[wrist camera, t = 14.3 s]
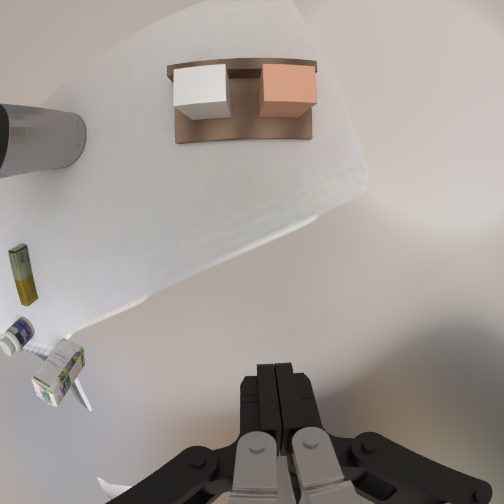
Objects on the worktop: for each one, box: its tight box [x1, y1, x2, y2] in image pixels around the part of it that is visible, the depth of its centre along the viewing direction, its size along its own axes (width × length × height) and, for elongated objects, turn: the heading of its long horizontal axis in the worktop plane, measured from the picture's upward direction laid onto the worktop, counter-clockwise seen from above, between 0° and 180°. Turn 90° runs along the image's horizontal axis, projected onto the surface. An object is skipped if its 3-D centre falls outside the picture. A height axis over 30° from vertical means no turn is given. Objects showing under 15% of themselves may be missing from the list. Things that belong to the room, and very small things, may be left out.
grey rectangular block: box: [173, 64, 231, 120], centre depth 26 cm, size 5×4×10 cm
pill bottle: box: [0, 317, 34, 356], centre depth 40 cm, size 5×5×10 cm
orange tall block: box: [258, 64, 317, 118], centre depth 26 cm, size 5×4×10 cm
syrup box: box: [31, 339, 85, 407], centre depth 40 cm, size 6×6×14 cm
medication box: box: [9, 244, 38, 306], centre depth 39 cm, size 12×3×4 cm, turn 176°
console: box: [167, 58, 317, 144], centre depth 30 cm, size 18×10×6 cm, turn 92°
